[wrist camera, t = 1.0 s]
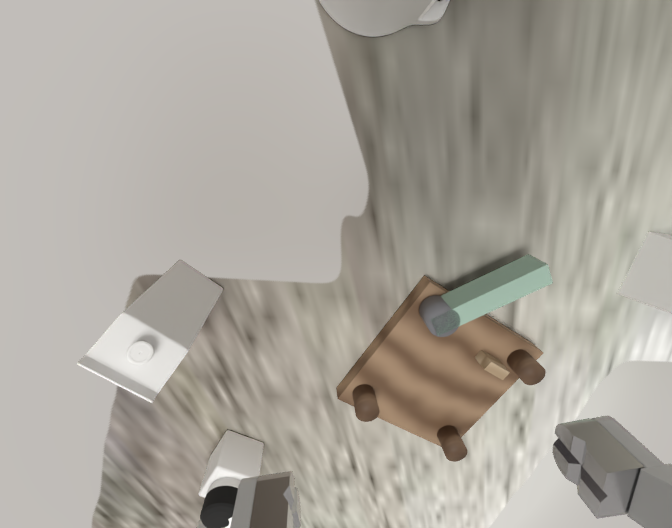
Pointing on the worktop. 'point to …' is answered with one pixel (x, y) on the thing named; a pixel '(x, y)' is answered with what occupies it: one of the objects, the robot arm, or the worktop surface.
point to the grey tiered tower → (651, 273)
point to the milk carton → (154, 332)
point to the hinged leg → (484, 295)
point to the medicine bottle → (228, 477)
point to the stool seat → (437, 373)
